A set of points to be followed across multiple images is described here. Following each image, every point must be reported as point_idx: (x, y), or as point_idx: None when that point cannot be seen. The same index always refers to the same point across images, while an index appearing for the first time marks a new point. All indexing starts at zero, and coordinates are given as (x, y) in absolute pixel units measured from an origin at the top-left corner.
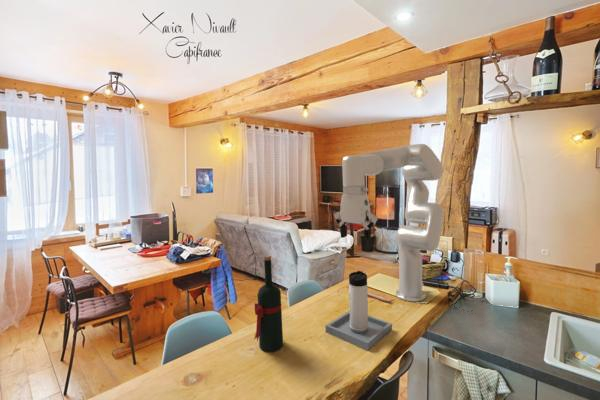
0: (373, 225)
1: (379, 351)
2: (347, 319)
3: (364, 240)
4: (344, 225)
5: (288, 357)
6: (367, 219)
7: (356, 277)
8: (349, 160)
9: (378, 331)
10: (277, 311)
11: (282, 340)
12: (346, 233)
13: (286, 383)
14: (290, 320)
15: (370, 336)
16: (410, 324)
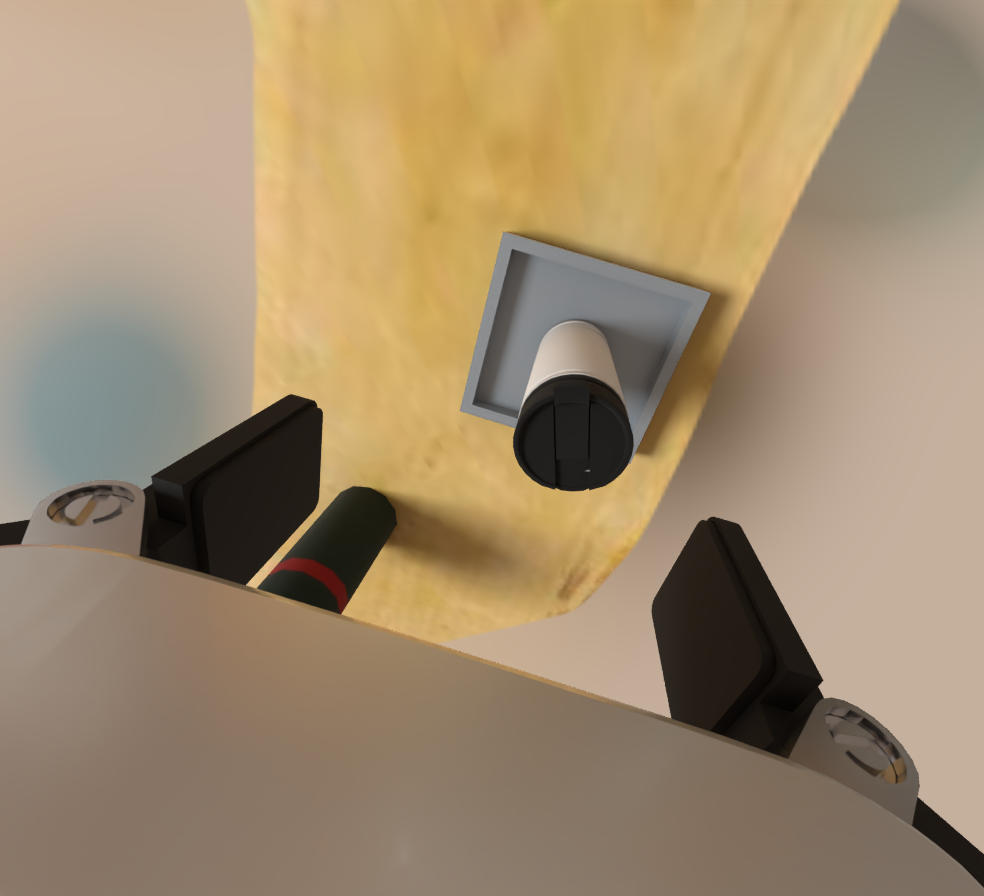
0: (978, 882)
1: (664, 442)
2: (507, 295)
3: (657, 614)
4: (176, 564)
5: (435, 542)
6: (876, 858)
7: (566, 458)
8: None
9: (657, 380)
10: (347, 602)
11: (388, 520)
12: (297, 438)
13: (481, 608)
14: (318, 376)
15: (625, 386)
16: (794, 190)
